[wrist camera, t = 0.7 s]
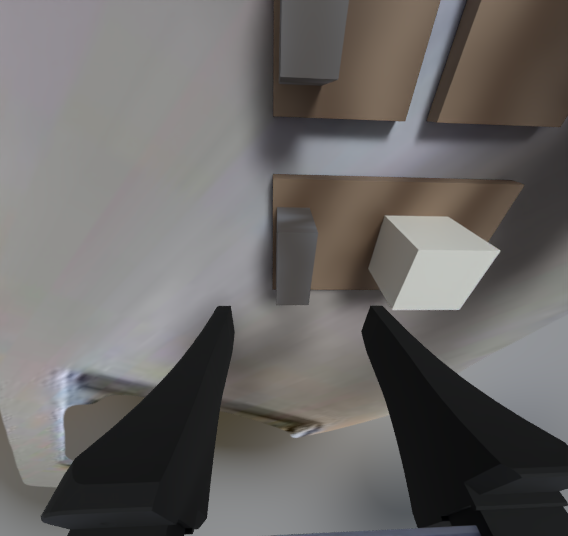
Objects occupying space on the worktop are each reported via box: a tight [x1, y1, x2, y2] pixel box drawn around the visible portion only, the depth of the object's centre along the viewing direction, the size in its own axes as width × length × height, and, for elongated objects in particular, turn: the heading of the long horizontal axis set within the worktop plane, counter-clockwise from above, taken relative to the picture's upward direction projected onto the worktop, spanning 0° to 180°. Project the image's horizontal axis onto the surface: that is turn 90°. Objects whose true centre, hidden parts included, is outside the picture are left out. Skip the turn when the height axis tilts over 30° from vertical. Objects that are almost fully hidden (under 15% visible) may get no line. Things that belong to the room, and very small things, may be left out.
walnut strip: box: [273, 174, 524, 305], centre depth 18 cm, size 18×10×5 cm, turn 88°
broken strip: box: [273, 0, 568, 127], centre depth 10 cm, size 18×9×5 cm, turn 88°
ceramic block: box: [368, 216, 500, 310], centre depth 17 cm, size 5×5×5 cm
